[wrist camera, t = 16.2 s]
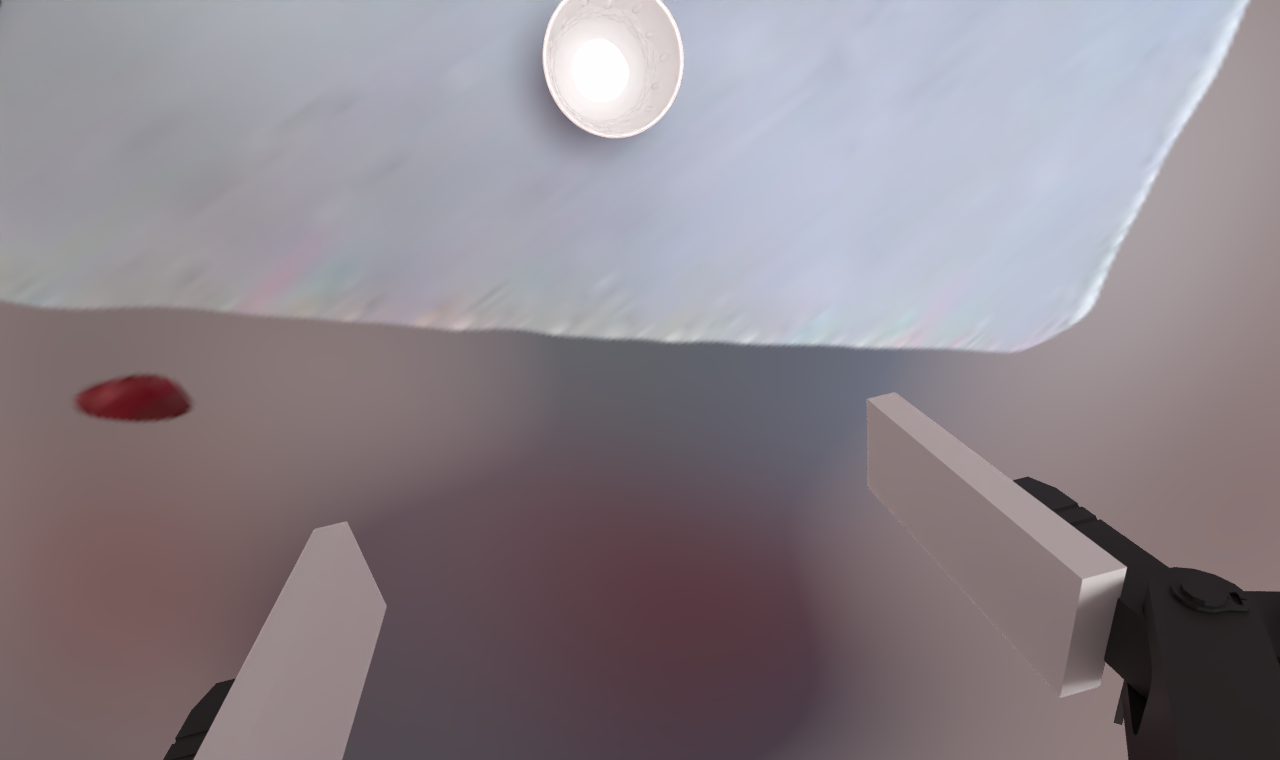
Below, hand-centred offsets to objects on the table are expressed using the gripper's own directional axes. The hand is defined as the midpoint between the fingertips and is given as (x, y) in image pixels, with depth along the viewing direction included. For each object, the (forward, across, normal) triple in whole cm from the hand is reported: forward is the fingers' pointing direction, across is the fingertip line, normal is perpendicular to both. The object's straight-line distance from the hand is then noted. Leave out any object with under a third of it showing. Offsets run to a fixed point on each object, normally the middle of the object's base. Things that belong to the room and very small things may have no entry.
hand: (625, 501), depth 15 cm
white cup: (+35, +5, +11) cm, 37 cm away
